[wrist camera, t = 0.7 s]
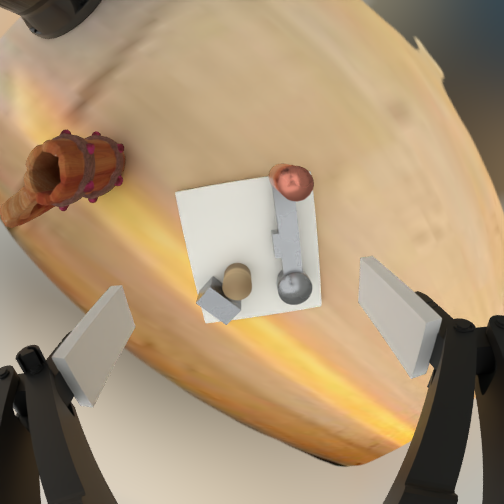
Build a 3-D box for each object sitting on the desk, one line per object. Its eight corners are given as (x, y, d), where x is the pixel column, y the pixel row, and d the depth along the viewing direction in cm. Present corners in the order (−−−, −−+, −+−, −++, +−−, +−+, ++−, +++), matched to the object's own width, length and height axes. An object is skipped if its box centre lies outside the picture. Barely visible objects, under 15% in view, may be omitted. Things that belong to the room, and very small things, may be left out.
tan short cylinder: (221, 265, 37) (219, 276, 34) (248, 261, 37) (249, 271, 34) (226, 289, 38) (225, 302, 35) (252, 285, 38) (254, 298, 35)
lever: (309, 294, 38) (329, 338, 28) (278, 299, 38) (289, 346, 28) (296, 161, 32) (319, 163, 22) (259, 166, 32) (267, 169, 23)
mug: (120, 122, 32) (55, 108, 17) (145, 172, 34) (88, 185, 20) (49, 179, 33) (-20, 196, 19) (71, 224, 36) (6, 259, 21)
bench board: (177, 191, 35) (173, 193, 33) (308, 171, 35) (312, 171, 33) (206, 318, 41) (205, 325, 39) (319, 302, 41) (322, 308, 39)
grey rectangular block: (199, 290, 38) (195, 303, 35) (212, 275, 38) (210, 287, 34) (227, 311, 40) (226, 325, 36) (241, 297, 39) (241, 310, 36)
